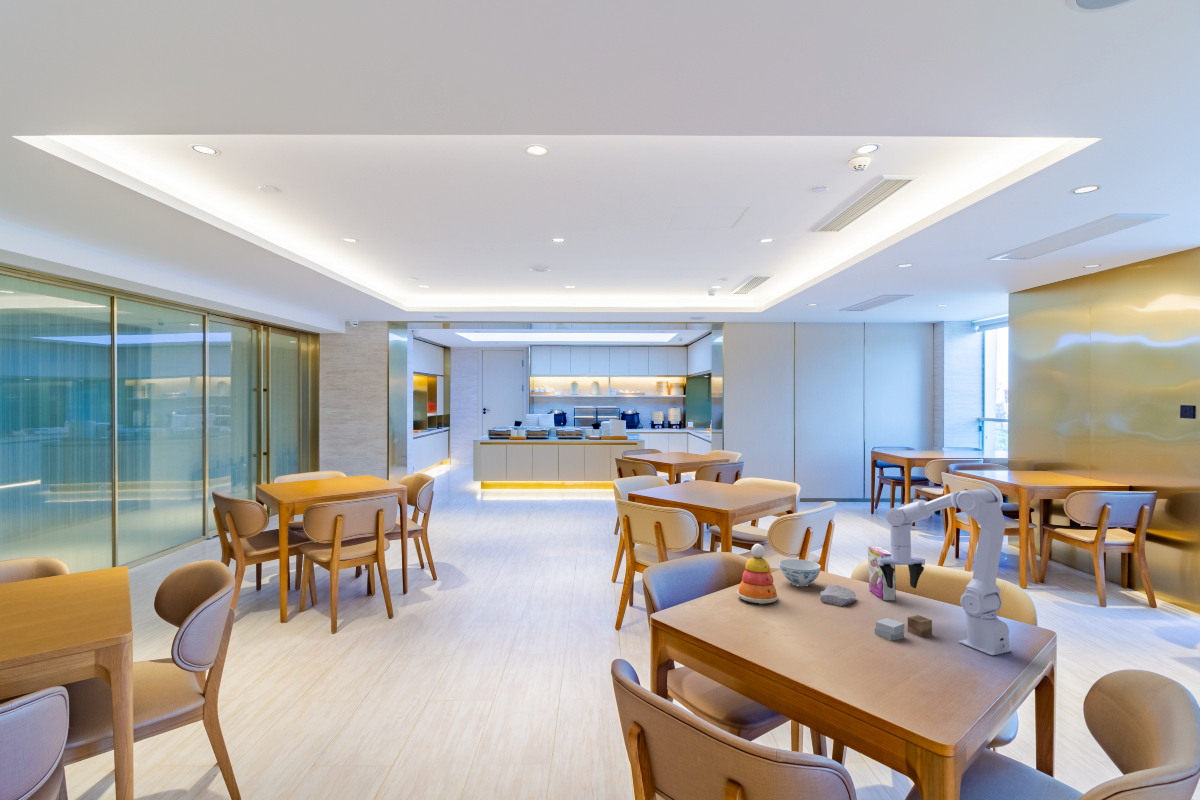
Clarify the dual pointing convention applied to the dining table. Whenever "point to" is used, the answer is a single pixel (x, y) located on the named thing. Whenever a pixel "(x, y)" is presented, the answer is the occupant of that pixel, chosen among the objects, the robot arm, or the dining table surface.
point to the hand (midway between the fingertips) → (901, 587)
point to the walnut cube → (919, 626)
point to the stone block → (837, 595)
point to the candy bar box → (880, 575)
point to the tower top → (890, 626)
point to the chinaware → (800, 571)
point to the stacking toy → (757, 579)
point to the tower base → (889, 635)
